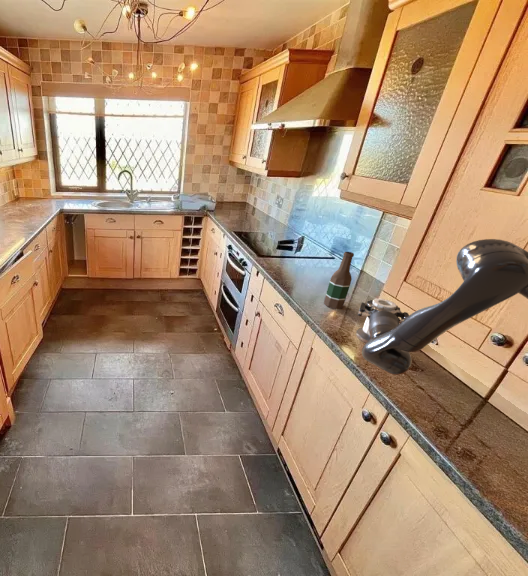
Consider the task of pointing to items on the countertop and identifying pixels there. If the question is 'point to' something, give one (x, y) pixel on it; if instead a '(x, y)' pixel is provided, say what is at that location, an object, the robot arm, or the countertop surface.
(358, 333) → the towel stand
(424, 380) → the countertop surface
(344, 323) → the countertop surface
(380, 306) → the paper roll
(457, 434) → the countertop surface
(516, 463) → the countertop surface
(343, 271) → the beer bottle
